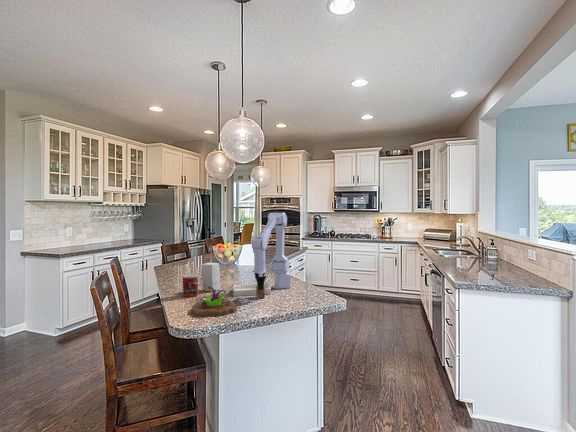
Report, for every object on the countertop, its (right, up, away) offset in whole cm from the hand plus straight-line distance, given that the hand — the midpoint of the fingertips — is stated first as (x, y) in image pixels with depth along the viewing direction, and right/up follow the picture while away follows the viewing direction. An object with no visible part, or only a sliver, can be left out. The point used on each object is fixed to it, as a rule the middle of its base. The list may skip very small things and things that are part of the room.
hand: (260, 288), depth 163 cm
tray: (-6, -5, +12) cm, 15 cm away
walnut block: (0, -5, 0) cm, 5 cm away
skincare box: (-30, -6, +18) cm, 35 cm away
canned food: (-38, -6, +6) cm, 39 cm away
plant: (-20, -6, -19) cm, 28 cm away
